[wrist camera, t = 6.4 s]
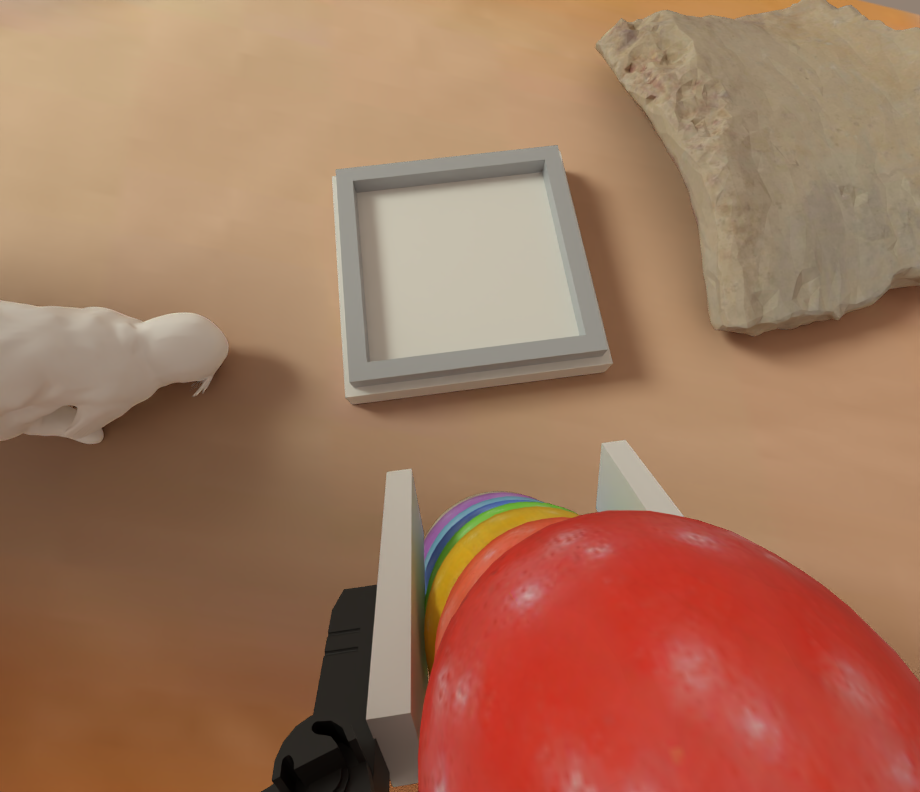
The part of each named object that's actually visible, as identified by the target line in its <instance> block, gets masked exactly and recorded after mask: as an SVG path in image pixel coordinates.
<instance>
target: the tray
mask: <svg viewBox="0 0 920 792" xmlns="http://www.w3.org/2000/svg"><path fill="white" fill-rule="evenodd" d="M332 185H333V202H334V218H335V235H336V251H337V268H338V284H339V301H340V317H341V334H342V351H343V367H344V384H345V398H346V399H347V400H348V401H349V402H350V403H351V404H352V405H353V404H361V403H369V402H376V401H384V400H392V399H400V398H408V397H415V396H423V395H431V394H439V393H446V392H454V391H462V390H470V389H478V388H485V387H493V386H501V385H509V384H516V383H524V382H532V381H540V380H547V379H555V378H563V377H571V376H579V375H586V374H594V373H602V372H605V371H606V370H607V369H608V368H609V367H610V366H611V365H612V364H613V362H612V358H611V354H610V350H609V346H608V342H607V338H606V334H605V329H604V325H603V321H602V317H601V313H600V309H599V305H598V301H597V297H596V293H595V289H594V285H593V281H592V277H591V273H590V269H589V265H588V261H587V257H586V253H585V249H584V245H583V241H582V237H581V233H580V229H579V225H578V221H577V217H576V213H575V209H574V205H573V201H572V197H571V193H570V189H569V185H568V181H567V177H566V173H565V169H564V165H563V161H562V157H561V153H560V151H559V149H558V145H554V146H545V147H536V148H527V149H518V150H509V151H500V152H491V153H481V154H472V155H463V156H454V157H445V158H436V159H427V160H418V161H409V162H400V163H391V164H381V165H372V166H363V167H354V168H345V169H336V176H332Z"/></svg>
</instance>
